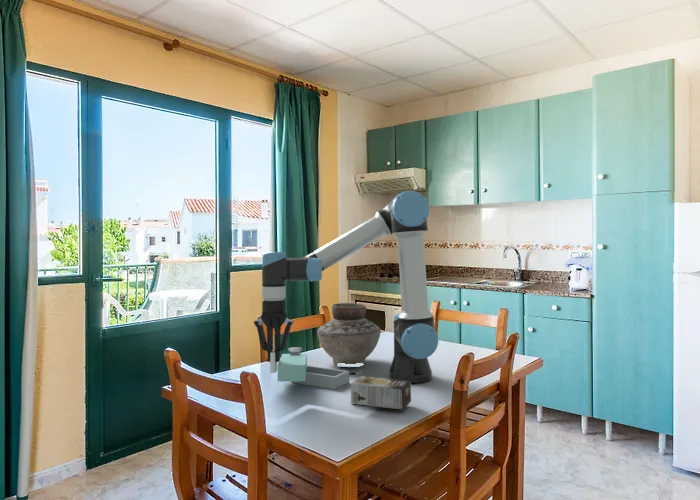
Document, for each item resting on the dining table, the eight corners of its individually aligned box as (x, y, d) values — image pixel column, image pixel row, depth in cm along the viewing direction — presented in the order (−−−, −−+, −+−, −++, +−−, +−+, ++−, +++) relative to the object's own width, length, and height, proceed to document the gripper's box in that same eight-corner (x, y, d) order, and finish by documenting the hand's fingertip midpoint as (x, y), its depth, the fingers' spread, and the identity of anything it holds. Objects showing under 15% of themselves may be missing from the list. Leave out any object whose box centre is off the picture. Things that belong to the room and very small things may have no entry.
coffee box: (360, 375, 149) (411, 379, 143) (360, 395, 149) (411, 401, 143) (350, 383, 140) (403, 388, 135) (350, 404, 140) (404, 410, 135)
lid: (305, 381, 150) (305, 361, 150) (277, 381, 149) (277, 361, 149) (307, 364, 172) (307, 347, 172) (283, 364, 172) (283, 347, 172)
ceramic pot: (390, 361, 194) (390, 303, 194) (363, 376, 172) (363, 310, 172) (336, 355, 205) (336, 300, 205) (305, 368, 183) (305, 306, 183)
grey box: (349, 383, 163) (349, 355, 163) (335, 389, 155) (335, 360, 155) (300, 375, 174) (300, 349, 174) (284, 381, 166) (284, 353, 166)
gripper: (296, 298, 158) (296, 369, 158) (258, 297, 160) (258, 368, 160) (290, 300, 151) (290, 375, 151) (250, 300, 152) (250, 374, 152)
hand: (273, 371), depth 155 cm, fingers closed
